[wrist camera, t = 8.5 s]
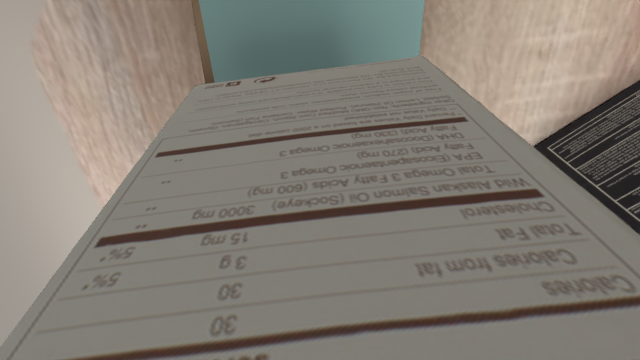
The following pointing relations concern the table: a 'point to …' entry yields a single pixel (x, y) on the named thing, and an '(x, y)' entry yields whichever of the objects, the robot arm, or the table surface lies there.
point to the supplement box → (342, 236)
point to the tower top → (307, 34)
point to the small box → (604, 154)
